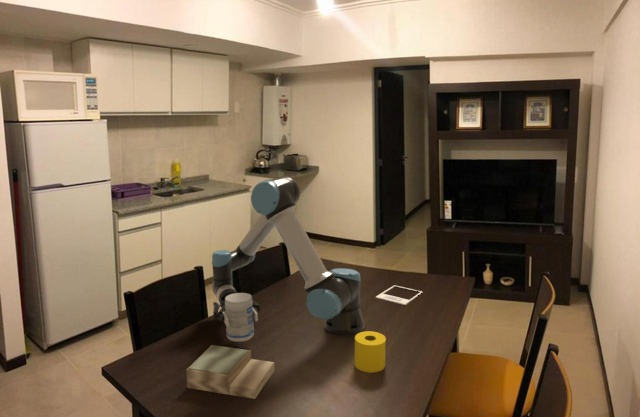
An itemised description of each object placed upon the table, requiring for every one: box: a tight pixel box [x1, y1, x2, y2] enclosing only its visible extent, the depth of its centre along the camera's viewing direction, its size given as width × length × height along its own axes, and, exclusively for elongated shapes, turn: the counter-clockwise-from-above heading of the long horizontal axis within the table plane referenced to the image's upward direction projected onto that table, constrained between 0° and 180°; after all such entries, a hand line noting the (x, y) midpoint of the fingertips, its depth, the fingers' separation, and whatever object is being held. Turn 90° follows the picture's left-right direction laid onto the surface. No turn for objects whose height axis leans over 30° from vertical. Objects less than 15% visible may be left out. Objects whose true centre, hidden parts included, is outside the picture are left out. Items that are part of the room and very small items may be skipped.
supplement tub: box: [225, 292, 255, 343], centre depth 168 cm, size 10×10×15 cm
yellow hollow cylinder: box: [354, 330, 387, 373], centre depth 157 cm, size 10×10×9 cm
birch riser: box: [185, 344, 275, 400], centre depth 149 cm, size 22×16×6 cm
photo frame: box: [375, 285, 423, 306], centre depth 218 cm, size 15×1×18 cm
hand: (242, 319), depth 164 cm, fingers closed on supplement tub, 9 cm apart
